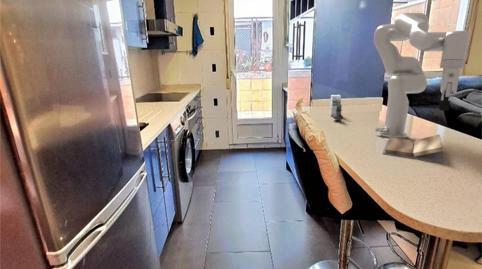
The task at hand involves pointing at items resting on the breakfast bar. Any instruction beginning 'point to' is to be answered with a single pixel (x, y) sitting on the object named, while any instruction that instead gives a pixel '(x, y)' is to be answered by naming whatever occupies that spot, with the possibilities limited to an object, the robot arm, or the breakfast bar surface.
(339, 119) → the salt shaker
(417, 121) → the breakfast bar surface
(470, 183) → the breakfast bar surface
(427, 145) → the ash plank
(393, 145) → the walnut board
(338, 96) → the syrup box
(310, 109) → the breakfast bar surface
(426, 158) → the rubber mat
